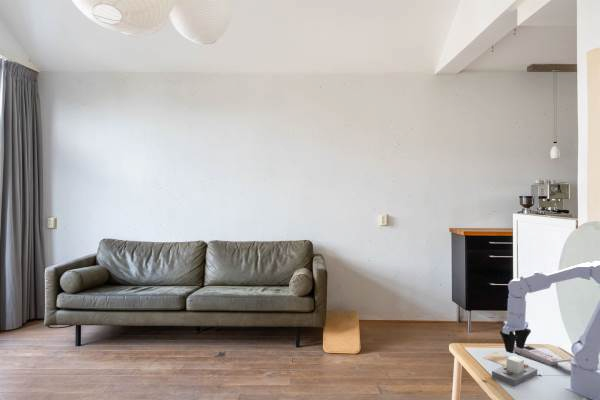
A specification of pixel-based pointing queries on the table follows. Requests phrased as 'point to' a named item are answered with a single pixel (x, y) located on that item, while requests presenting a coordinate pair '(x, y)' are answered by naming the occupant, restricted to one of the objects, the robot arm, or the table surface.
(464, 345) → the table surface
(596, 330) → the robot arm
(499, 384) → the table surface
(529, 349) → the mobile phone
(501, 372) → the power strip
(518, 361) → the white rectangular block
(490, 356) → the cork coaster
